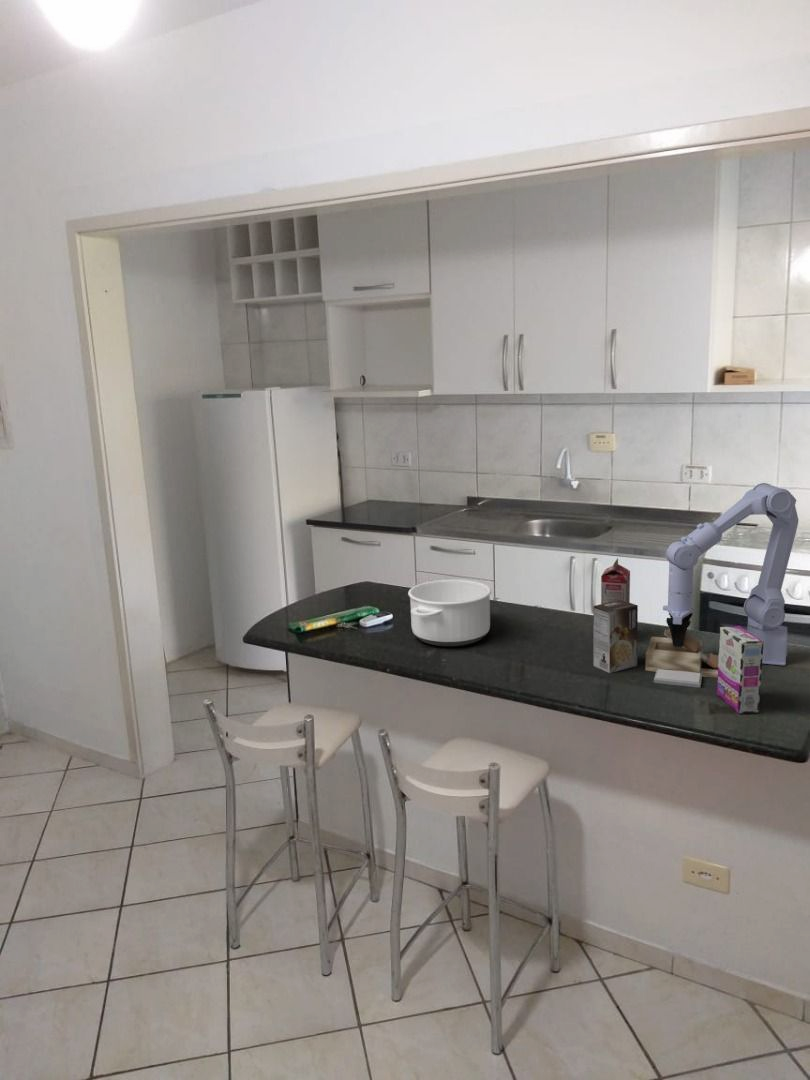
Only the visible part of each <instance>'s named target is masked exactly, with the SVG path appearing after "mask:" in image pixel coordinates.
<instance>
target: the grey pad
mask: <svg viewBox="0 0 810 1080" xmlns="http://www.w3.org/2000/svg"><path fill="white" fill-rule="evenodd" d="M702 679H703V676H702V674H700V673H694V672H684V671H674V670H664V669H658V670H657V671H656V672H655V674H654V678H653V683H655V684H662V685H672V686H680V687H681V686H682V687H689V688H690V687H692V688H699V689H700V688H701V685H702Z"/></svg>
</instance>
